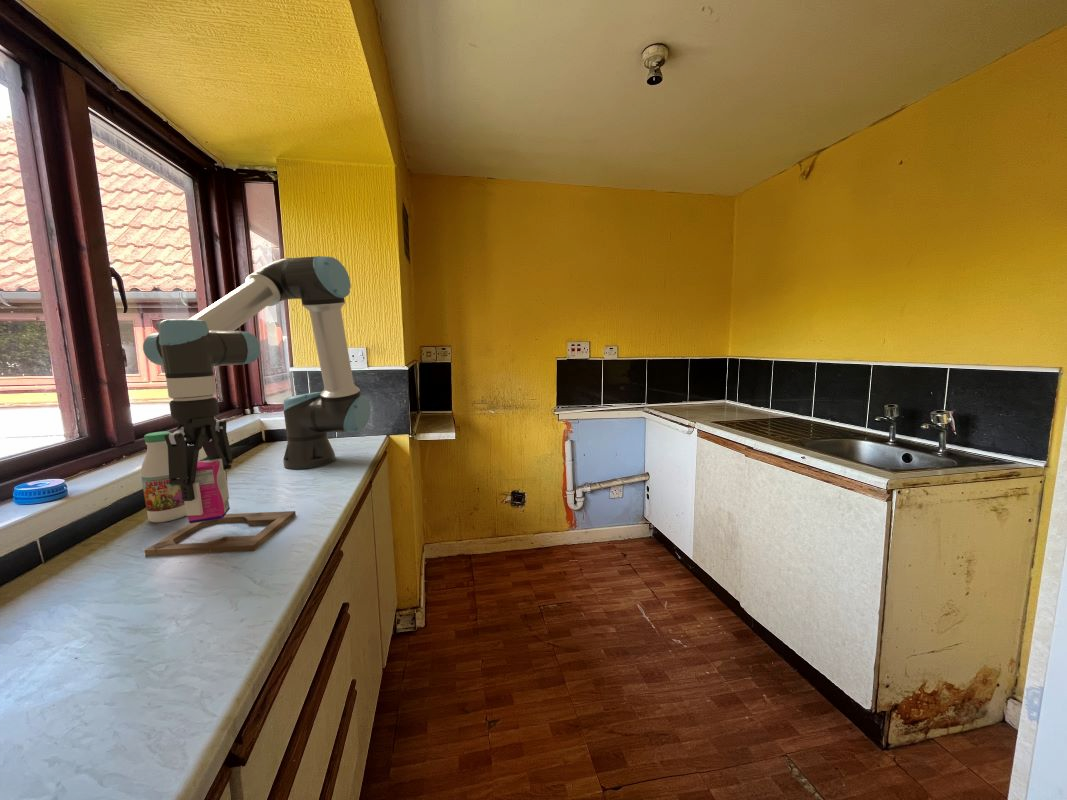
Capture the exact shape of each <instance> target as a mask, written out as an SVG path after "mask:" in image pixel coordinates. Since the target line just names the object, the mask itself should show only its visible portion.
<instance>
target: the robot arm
mask: <svg viewBox="0 0 1067 800" xmlns="http://www.w3.org/2000/svg"><path fill="white" fill-rule="evenodd" d="M350 279H351V278H350V275H349V273H348V271H347V269H346V268H345V266H344V265H343V263H341V261H340V260H338V259H337V258H335V257H332V256H325V255H323V256H322V255H321V256H320V255H317V256H306V257H305V256H304V257H284V258H282V259H281V258H280V259H276V260H275V261H273V262H271V263H268V264H265V265H264V266H262V267H261V268H259V269H257V270H255V271H254V272H252V273H251V274H249V275H248V276H247V277H245V281H244V283H243V284H241V285H240V286H238V287H236V288H235V289H233V290H232V291H230V292H229V293H228V294H226V295H224V296H223V297H221V298H220V299H218V300H217V301H214V303H212V304H211V305H209V306H208V307H207V306H206V307H205V308H204V309H202V310H201V311H200V312H198V313H196V314H195V315H193V316H191V317H190V318H189V319H184V318H183V319H180V318H178V319H177V318H176V319H164V320H162V321H160V322H159V323H158V332H154V333H151V334H149V335H147V336H146V337H145V339H144V341H143V344H142V351H143V353H144V356H145V357H146V358H147V359H148V361H149V362H151V363H153V364H154V365H158V366H163V368H164V369H163V370H164V377H165V381H166V388H167V393H168V398H170V399H172V400H170V402H168V403H169V404H168V405H169V410H170V417H171V419H173V420H175V421H176V422H177V428H176V431H174V432H173V433H172V432H171V433H169V434H165V440H166V443H167V446H168V465H169V483H170V485H180V487H181V492H182V499H183V501H184V503H185V510H186V516H187V517H188V516H192V515H202V514H203V508H202V501H201V494H200V487H199V482H196V483H195V477H196V470H197V462H198V460H199V454H200V450H201V449H203V451H204V453H205V455H206V457H207V458H208V459H207V460H214V459H222V463H223V469H224V476H225V482H226V488H227V495H228V500H229V499H230V495H229V494H230V493H229V486H228V474H227V470H230V469H231V468H232V464H233V463H234V462H233V461H234V460H233V456H232V451H231V446H230V443H229V442H230V441H229V438H228V432H227V421H226V420H216V419H215V417H216V416H218V415H219V413H220V411H219V401H218V398H217V397H215V396H216V395H217V392H218V391H217V386H216V378H215V372H214V367H221V366H222V367H223V366H234V365H235V366H239V365H240V366H243V365H246V364H247V365H248V364H252V363H254V362H255V361H256V360H257V359H259V357H260V354H261V344H260V341H259V339H258V338H257V337H256V336H255V335H254V334H253V333H251V332H249V331H243V330H238V329H239V328H240V327H242V325H244V324H245V323H247V322H248V321H250V320H251V319H252V318H253V317H254V316H256V315H257V314H258V313H260V312H261V311H262V310H264V309H265V308H266V307H272V306H276V305H277V304H278V303H280V302H282V301H286V300H287V301H288V300H301V305H302V307H303V308H305V309H306V310H307V311H309V317H310V321H311V326H312V333H313V337H314V341H315V348H316V351H317V357H318V361H319V367H320V373H321V379H322V383H323V390H321V391H315V392H308V393H304V394H303V393H302V394H297V395H293V396H292V395H291V396H287V397H286V398H285V399H284V400H283V410H282V411H283V415H284V416H283V417H284V424H285V430H286V431H285V433H286V440H287V443H286V444H287V445H286V447H285V452H284V456H283V461H282V462H283V467H284V468H285V469H290V470H304V469H311V468H317V467H322V466H326V465H329V464H331V463H333V462H335V461H336V454H335V451H334V449H333V446H332V444H331V442H330V441H329V439H328V433H346V434H350V433H358V432H361V431H363V430H364V429H365V428H366V426H367V425H368V423H369V421H370V416H371V411H372V409H371V402H370V400H369V399H368V397H367V396H365V395H362V394H361V389H360V388H359V387H358V386H357V385H356V384H355V382H354V377H353V371H352V367H351V366H352V365H351V360H350V355H349V350H348V349H349V348H348V343H347V337H346V336H347V335H346V331H345V325H344V320H343V315H342V314H343V313H342V307H344V305H345V304H346V300H345V298H347V297H348V296H349V295H350V293H351V290H350V289H351V288H352V286H351V285H352V284H351V280H350ZM187 477H188V478H187ZM186 516H185V517H186Z"/></svg>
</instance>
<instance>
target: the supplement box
mask: <svg viewBox="0 0 1067 800" xmlns="http://www.w3.org/2000/svg"><path fill="white" fill-rule="evenodd" d="M187 478H188V477H187ZM196 482H199V487H200V494H201V501H202V508H203V514H202V515H192V516H187V519H188V523H189V524H190V523H196V522H203V521H209V520H216V519H222V518H223V517H224V516H225V514H228V513H229V510H230V509H231V508H230V503H229V502H230V501H229V499H228V495H227V488H226V482H225V476H224V469H223V463H222V459H214V460H209V459H207V460H199V461H198V462H197V470H196V477H195V483H196Z"/></svg>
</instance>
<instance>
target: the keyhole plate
mask: <svg viewBox="0 0 1067 800" xmlns="http://www.w3.org/2000/svg"><path fill="white" fill-rule="evenodd" d="M296 516H297V514H296V510H292V511H289V510H288V511H264V512H260V511H259V512H240V513H239V512H238V513H226V514H225V516H224V517H223V518H222V519H216V520H209V521H203V522H196V523H189V524H187V525H185V526H184V527H182V528H180V529H179V530H176V531H175V532H173V533H172V534H170V535H168V536H166V537H164V538H163V539H161V540H160V541H158V542H156V543H154V544H152V545H151V546H149V547H147V548H146V549H144V555H145V557H149V556H150V557H153V556H154V557H157V556H174V555H175V556H176V555H177V556H178V555H192V554H193V555H198V554H215V553H216V554H218V553H236V552H239V553H240V552H254V551H256V550H257V549H258V548H260V546H262V545H263V544H264V543H265V542H267V541H268V540H269V539H270V538H271V537H272V536H274V535H275V534H276V533H277V532H279V531H280V530H281V529H282V528H284V526H286V525H287V524H288V523H289V522H290V521H291V520H293V519H294V518H296ZM242 522H243V523H246V524H247V525H248V526H249V527H251V526H265V527H264V528H263V529H262V530H260V531H259V532H258V533H257V534H254V535H237V536H236V535H234V536H224V537H219V538H217V539H213V540H210V541H207V542H190V543H187V542H186V543H179V542H181V541H183V540H184V539H186V538H187V537H189V536H191V535H193V534H194V533H196V532H197V531H199V530H200V529H202V528H205V527H208V526H212V525H216V524H218V523H219V524H222V523H225V524H226V523H242Z"/></svg>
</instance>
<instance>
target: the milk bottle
mask: <svg viewBox="0 0 1067 800" xmlns="http://www.w3.org/2000/svg"><path fill="white" fill-rule="evenodd" d="M169 433H172V432H171V431H155V432H149V433H146V434H144V436H143V438H144V442H145V445H146V448H147V449H146V453H145V456H144V459H143V461H142V464H141V468H140V470H141V471H140V475H141V485H142V491H143V496H144V497H143V498H144V502H145V509H146V514H147V519H148V521H149V522H150V523H165V522H169V521H170V522H171V521H174V520H178V519H181V518H183V517H186V510H185V503H184V501H183V499H182V492H181V487H180V485H170V483H169V465H168V446H167V443H166V440H165V434H169Z"/></svg>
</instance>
